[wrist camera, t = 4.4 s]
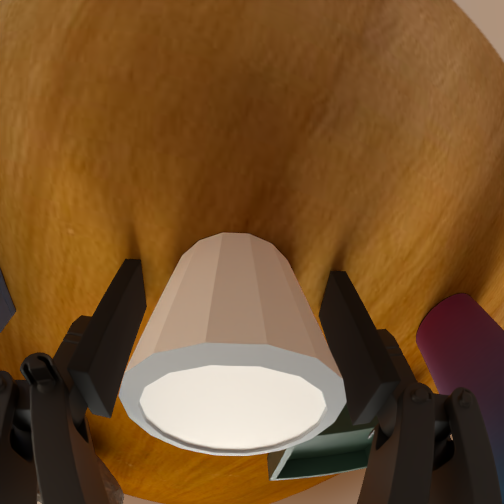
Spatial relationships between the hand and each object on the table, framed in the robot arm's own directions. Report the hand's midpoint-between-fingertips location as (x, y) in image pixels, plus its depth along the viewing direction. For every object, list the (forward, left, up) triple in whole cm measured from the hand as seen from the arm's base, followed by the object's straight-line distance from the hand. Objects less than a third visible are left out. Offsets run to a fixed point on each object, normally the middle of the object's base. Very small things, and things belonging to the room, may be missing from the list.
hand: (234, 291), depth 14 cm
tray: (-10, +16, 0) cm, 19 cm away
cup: (-14, +3, 0) cm, 14 cm away
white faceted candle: (0, 0, 0) cm, 0 cm away
